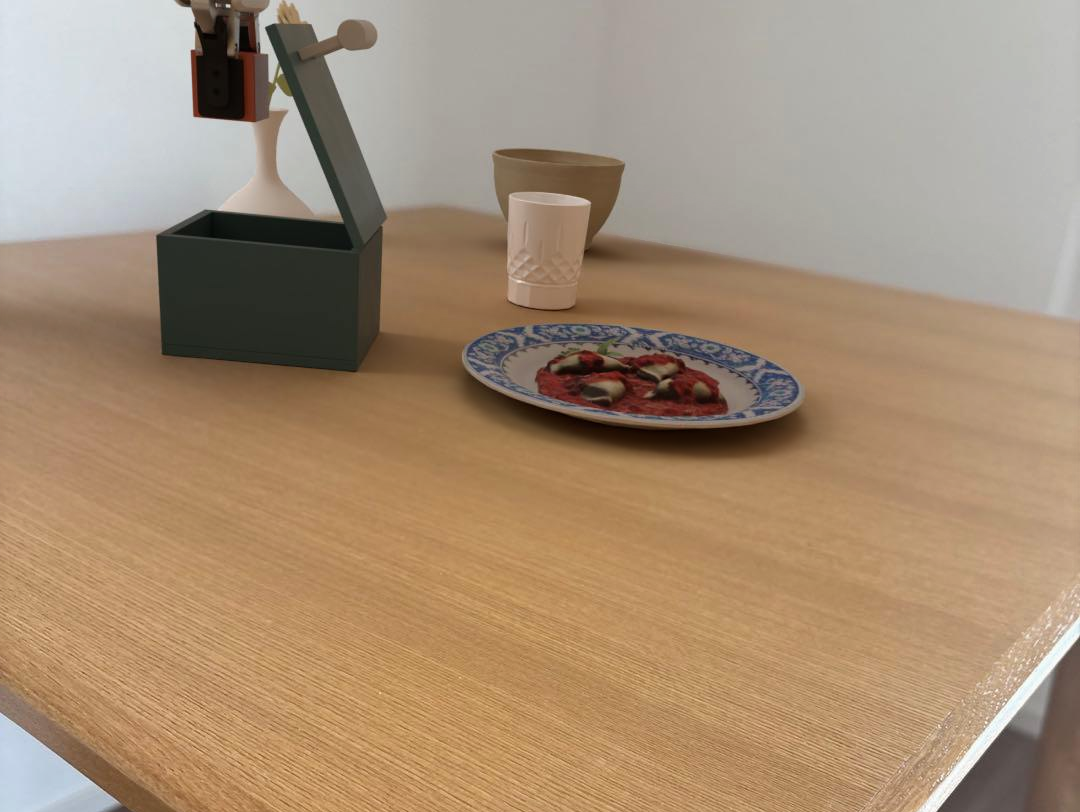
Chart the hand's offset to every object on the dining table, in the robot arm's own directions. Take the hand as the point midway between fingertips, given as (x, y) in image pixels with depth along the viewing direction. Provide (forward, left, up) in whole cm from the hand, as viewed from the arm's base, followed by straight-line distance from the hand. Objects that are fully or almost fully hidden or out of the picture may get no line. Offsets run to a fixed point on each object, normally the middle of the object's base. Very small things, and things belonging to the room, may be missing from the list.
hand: (231, 112), depth 83 cm
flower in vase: (-8, +47, -17) cm, 51 cm away
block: (0, 0, 0) cm, 0 cm away
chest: (+3, 0, -17) cm, 17 cm away
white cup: (+24, +23, -17) cm, 38 cm away
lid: (+7, 0, -1) cm, 7 cm away
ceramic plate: (+31, -6, -17) cm, 36 cm away
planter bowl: (+25, +55, -17) cm, 63 cm away
